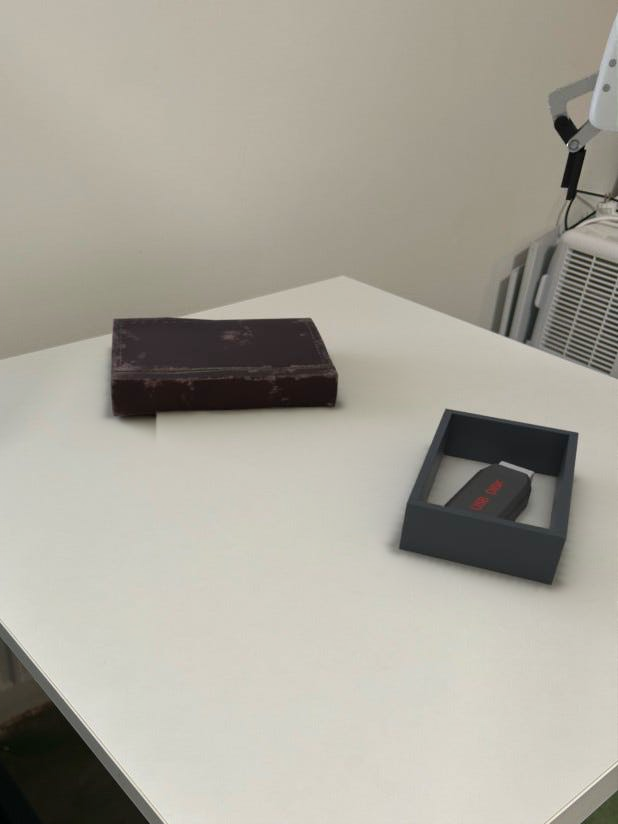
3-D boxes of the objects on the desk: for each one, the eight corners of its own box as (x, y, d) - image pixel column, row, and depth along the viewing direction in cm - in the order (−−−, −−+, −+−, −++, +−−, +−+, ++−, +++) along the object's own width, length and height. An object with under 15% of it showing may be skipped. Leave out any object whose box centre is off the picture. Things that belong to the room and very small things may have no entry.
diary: (335, 414, 93) (340, 373, 90) (113, 422, 91) (110, 380, 88) (307, 348, 108) (309, 311, 105) (115, 353, 106) (112, 315, 103)
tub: (436, 456, 86) (445, 408, 82) (563, 482, 82) (578, 432, 78) (397, 556, 72) (406, 503, 68) (548, 592, 68) (566, 538, 65)
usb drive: (433, 530, 74) (438, 504, 72) (487, 475, 82) (493, 451, 80) (488, 552, 71) (495, 526, 70) (539, 493, 79) (546, 468, 77)
